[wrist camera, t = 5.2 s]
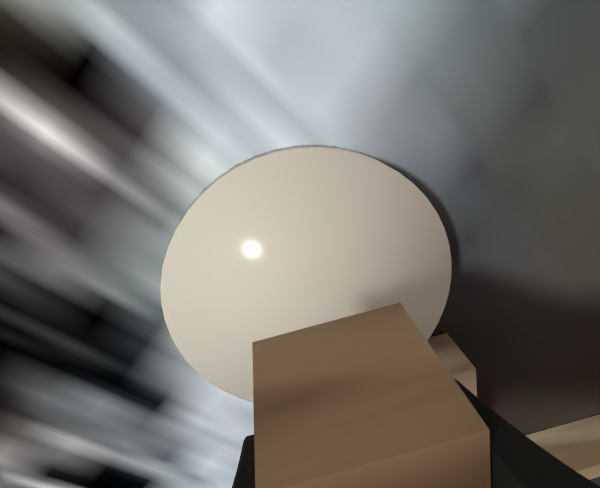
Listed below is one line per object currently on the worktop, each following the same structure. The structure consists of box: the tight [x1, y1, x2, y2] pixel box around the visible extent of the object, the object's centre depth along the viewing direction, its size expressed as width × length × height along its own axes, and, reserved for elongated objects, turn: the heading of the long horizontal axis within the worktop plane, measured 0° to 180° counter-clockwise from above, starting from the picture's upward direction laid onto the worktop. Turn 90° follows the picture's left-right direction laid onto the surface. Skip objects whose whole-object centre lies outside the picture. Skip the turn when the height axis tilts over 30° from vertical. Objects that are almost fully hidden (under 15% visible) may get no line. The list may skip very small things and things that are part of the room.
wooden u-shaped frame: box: [427, 333, 600, 479], centre depth 23 cm, size 12×18×3 cm, turn 103°
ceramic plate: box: [161, 145, 451, 402], centre depth 19 cm, size 14×14×1 cm
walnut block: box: [252, 303, 491, 488], centre depth 11 cm, size 5×5×5 cm
